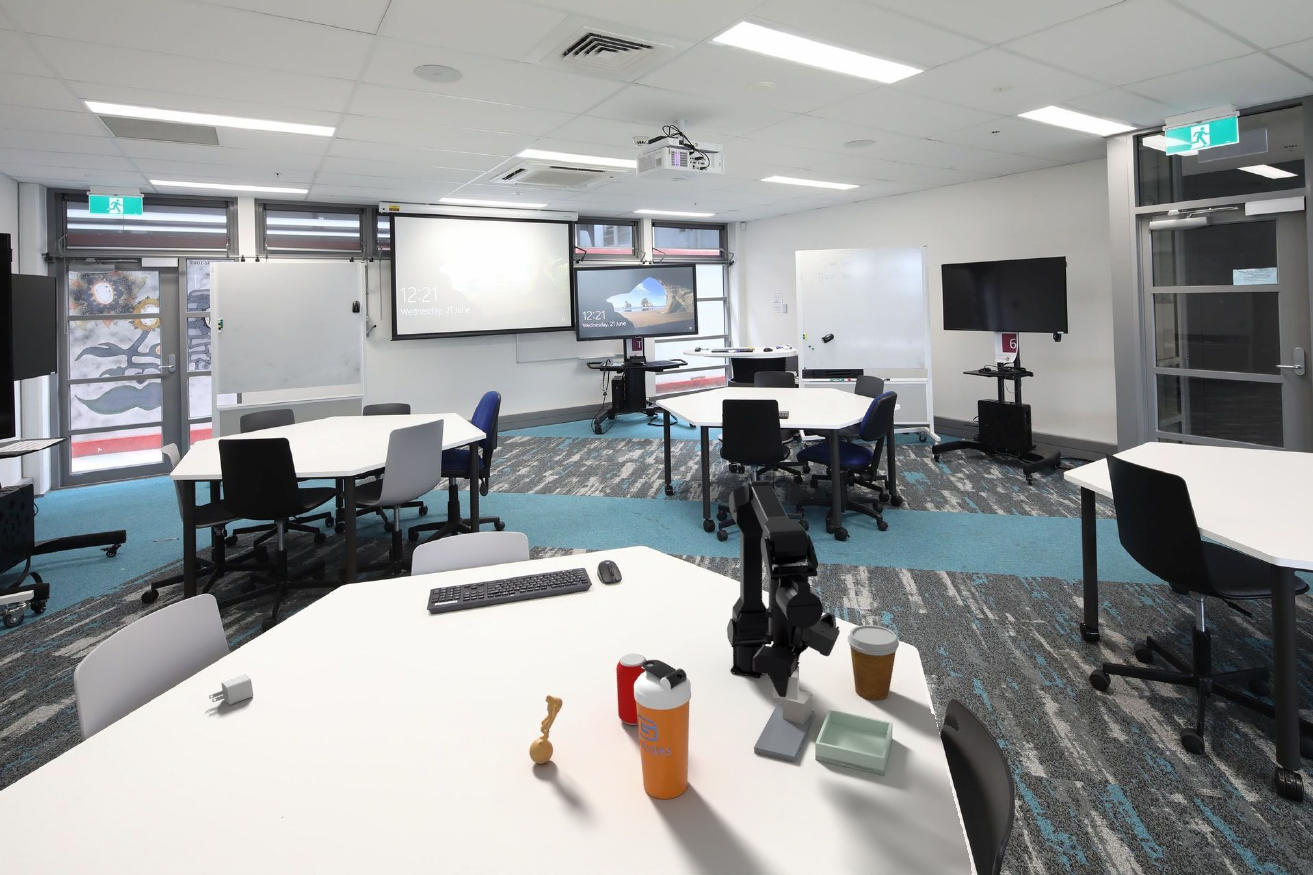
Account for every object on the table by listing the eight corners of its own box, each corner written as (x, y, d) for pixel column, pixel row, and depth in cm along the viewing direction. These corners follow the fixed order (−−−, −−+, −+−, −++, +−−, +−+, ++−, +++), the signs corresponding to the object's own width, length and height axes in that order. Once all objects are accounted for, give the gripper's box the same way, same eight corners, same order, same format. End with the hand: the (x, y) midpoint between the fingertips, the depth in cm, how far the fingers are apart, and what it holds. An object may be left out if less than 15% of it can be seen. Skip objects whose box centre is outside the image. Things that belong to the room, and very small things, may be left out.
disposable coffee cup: (900, 706, 133) (902, 647, 131) (848, 702, 134) (849, 644, 132) (894, 681, 142) (895, 625, 140) (845, 678, 144) (846, 622, 142)
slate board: (754, 752, 120) (753, 746, 120) (777, 707, 133) (777, 702, 133) (794, 761, 117) (794, 756, 117) (814, 715, 130) (814, 710, 130)
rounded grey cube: (773, 697, 118) (773, 675, 117) (775, 685, 121) (775, 663, 121) (797, 699, 117) (797, 677, 116) (799, 687, 120) (799, 665, 120)
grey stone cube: (782, 718, 128) (782, 698, 127) (791, 707, 131) (791, 688, 131) (803, 724, 126) (803, 703, 125) (811, 713, 129) (811, 693, 129)
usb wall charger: (253, 697, 143) (251, 679, 143) (215, 711, 139) (212, 693, 138) (247, 690, 146) (244, 672, 146) (209, 704, 141) (206, 686, 141)
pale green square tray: (815, 759, 118) (815, 742, 117) (828, 724, 127) (828, 709, 127) (883, 775, 113) (884, 758, 113) (892, 738, 123) (892, 722, 122)
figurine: (532, 747, 123) (528, 684, 121) (566, 745, 124) (563, 681, 122) (527, 778, 115) (523, 710, 113) (564, 774, 116) (560, 707, 114)
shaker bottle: (658, 760, 119) (654, 649, 115) (703, 778, 114) (701, 663, 110) (626, 790, 111) (621, 673, 108) (673, 811, 106) (670, 688, 103)
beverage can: (655, 712, 133) (653, 653, 131) (644, 730, 127) (642, 669, 125) (625, 707, 135) (623, 649, 133) (613, 725, 129) (610, 664, 127)
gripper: (823, 633, 105) (822, 729, 107) (846, 588, 121) (844, 673, 124) (751, 621, 109) (751, 714, 112) (782, 580, 126) (782, 661, 129)
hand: (786, 689), depth 119 cm, fingers closed on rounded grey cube, 4 cm apart
